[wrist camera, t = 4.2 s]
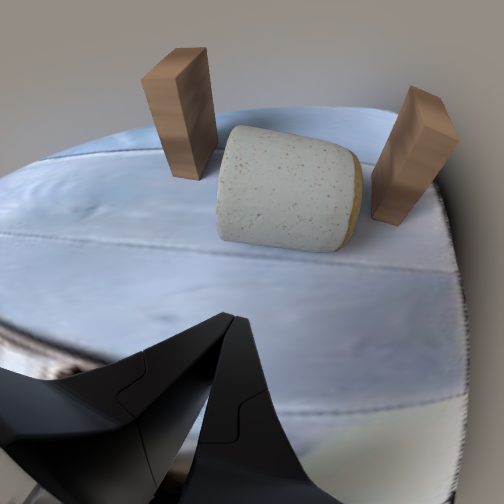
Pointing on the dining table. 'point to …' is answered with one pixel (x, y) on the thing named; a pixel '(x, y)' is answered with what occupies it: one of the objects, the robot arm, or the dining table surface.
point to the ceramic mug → (287, 191)
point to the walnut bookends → (205, 135)
